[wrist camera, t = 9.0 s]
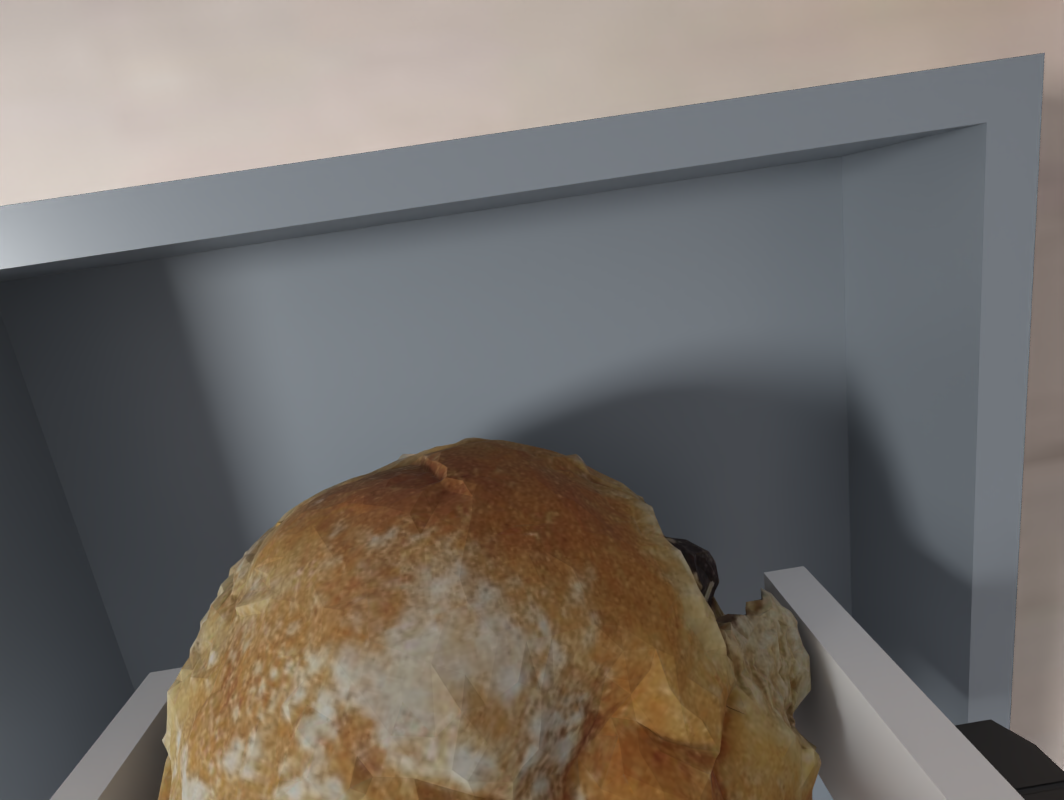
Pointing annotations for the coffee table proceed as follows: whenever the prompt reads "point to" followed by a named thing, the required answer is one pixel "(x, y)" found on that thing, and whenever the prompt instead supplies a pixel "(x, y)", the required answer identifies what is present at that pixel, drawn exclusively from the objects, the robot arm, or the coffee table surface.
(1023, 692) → the coffee table surface
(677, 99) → the coffee table surface
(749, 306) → the grey tray
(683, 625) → the bread roll
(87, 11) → the coffee table surface
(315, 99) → the coffee table surface
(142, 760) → the robot arm
